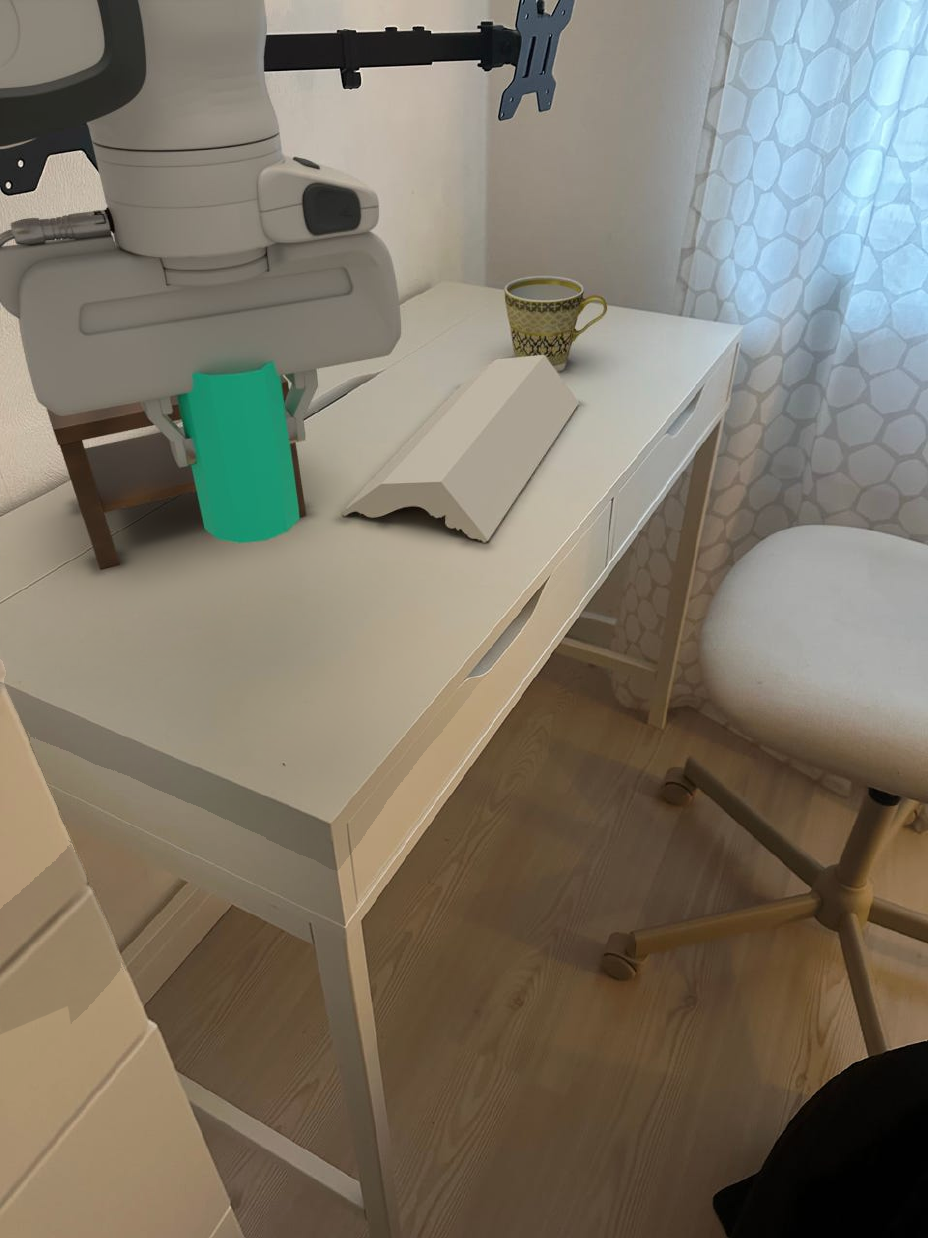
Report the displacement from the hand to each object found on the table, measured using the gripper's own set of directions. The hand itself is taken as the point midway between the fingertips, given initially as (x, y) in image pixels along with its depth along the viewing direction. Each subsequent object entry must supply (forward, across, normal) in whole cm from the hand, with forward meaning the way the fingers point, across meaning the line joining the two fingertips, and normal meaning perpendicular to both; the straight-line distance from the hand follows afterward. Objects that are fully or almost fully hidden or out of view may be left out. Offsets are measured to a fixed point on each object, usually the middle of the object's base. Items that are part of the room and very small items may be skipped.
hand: (241, 450), depth 53 cm
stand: (+21, +1, +33) cm, 39 cm away
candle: (+5, 0, 0) cm, 5 cm away
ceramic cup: (+21, +52, +47) cm, 73 cm away
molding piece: (+21, +31, +30) cm, 47 cm away
